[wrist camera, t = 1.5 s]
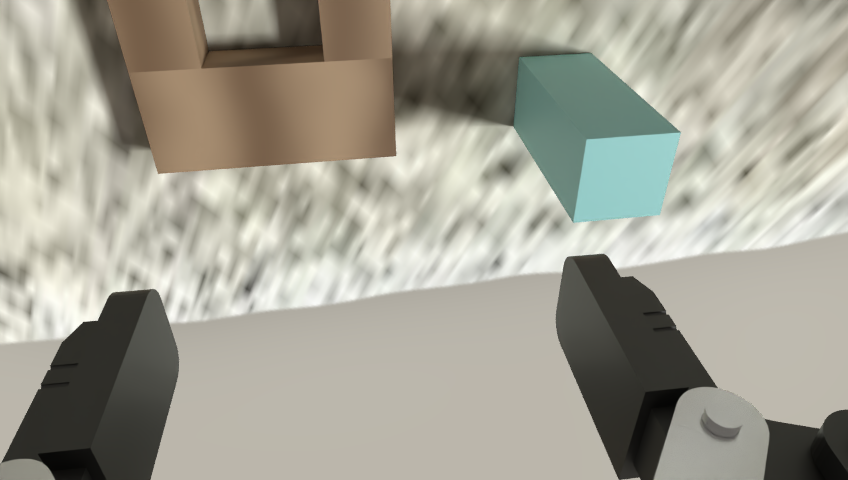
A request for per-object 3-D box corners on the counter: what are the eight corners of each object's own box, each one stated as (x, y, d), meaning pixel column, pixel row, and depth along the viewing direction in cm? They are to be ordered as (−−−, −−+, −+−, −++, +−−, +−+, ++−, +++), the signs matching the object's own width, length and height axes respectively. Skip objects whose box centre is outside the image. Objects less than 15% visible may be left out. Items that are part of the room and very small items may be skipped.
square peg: (591, 52, 33) (680, 132, 25) (580, 121, 35) (659, 214, 27) (519, 57, 33) (586, 139, 24) (513, 126, 35) (573, 222, 27)
